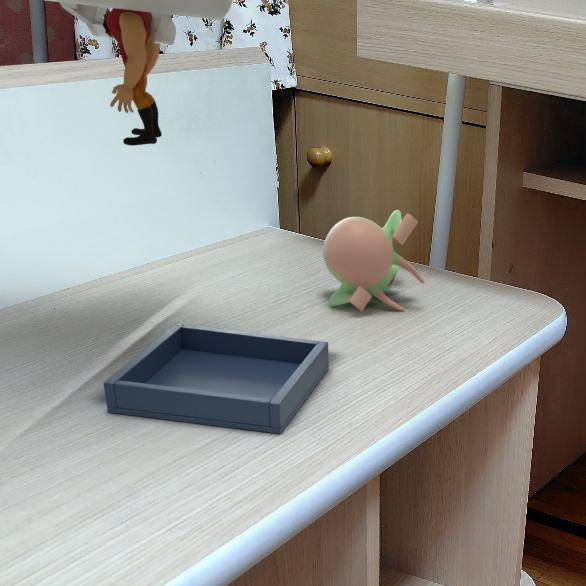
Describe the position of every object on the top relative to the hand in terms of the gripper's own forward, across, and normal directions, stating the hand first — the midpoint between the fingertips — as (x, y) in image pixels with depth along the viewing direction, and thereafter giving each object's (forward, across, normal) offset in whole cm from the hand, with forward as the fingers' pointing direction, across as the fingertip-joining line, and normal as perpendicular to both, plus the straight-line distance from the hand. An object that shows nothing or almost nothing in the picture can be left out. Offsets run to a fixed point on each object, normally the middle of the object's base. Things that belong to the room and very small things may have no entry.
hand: (135, 34), depth 83 cm
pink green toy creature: (+24, -18, +10) cm, 32 cm away
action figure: (+6, 0, +6) cm, 9 cm away
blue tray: (+6, -12, +28) cm, 31 cm away
